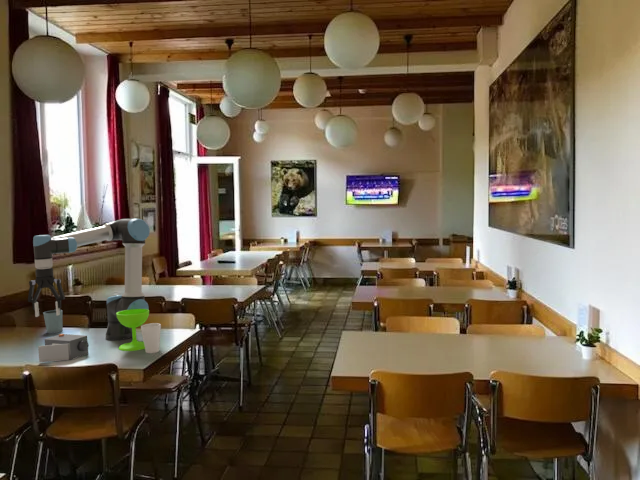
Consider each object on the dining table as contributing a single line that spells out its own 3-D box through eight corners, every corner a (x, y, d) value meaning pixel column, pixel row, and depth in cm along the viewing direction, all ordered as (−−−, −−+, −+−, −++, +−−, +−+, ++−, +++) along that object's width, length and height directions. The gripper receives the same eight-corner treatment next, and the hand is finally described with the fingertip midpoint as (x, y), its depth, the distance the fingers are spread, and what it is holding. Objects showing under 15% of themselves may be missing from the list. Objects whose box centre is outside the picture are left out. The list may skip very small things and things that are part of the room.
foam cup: (151, 354, 278) (149, 328, 277) (138, 352, 283) (136, 326, 282) (166, 350, 286) (164, 324, 285) (153, 348, 291) (151, 322, 290)
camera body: (91, 354, 285) (90, 334, 284) (73, 360, 274) (72, 339, 274) (63, 351, 292) (62, 332, 291) (45, 357, 281) (44, 337, 281)
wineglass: (118, 352, 285) (115, 316, 284) (118, 345, 300) (116, 310, 299) (152, 348, 290) (150, 312, 289) (150, 341, 305) (148, 307, 304)
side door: (71, 358, 275) (70, 343, 274) (70, 359, 274) (69, 343, 273) (39, 361, 272) (38, 346, 272) (39, 362, 271) (38, 346, 271)
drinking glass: (67, 330, 342) (65, 310, 341) (51, 334, 334) (49, 313, 333) (57, 329, 348) (55, 309, 347) (41, 332, 339) (39, 312, 338)
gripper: (70, 265, 278) (73, 312, 280) (23, 268, 275) (26, 315, 277) (65, 267, 271) (69, 315, 272) (16, 270, 268) (20, 318, 270)
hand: (47, 315), depth 275 cm, fingers open, 9 cm apart
